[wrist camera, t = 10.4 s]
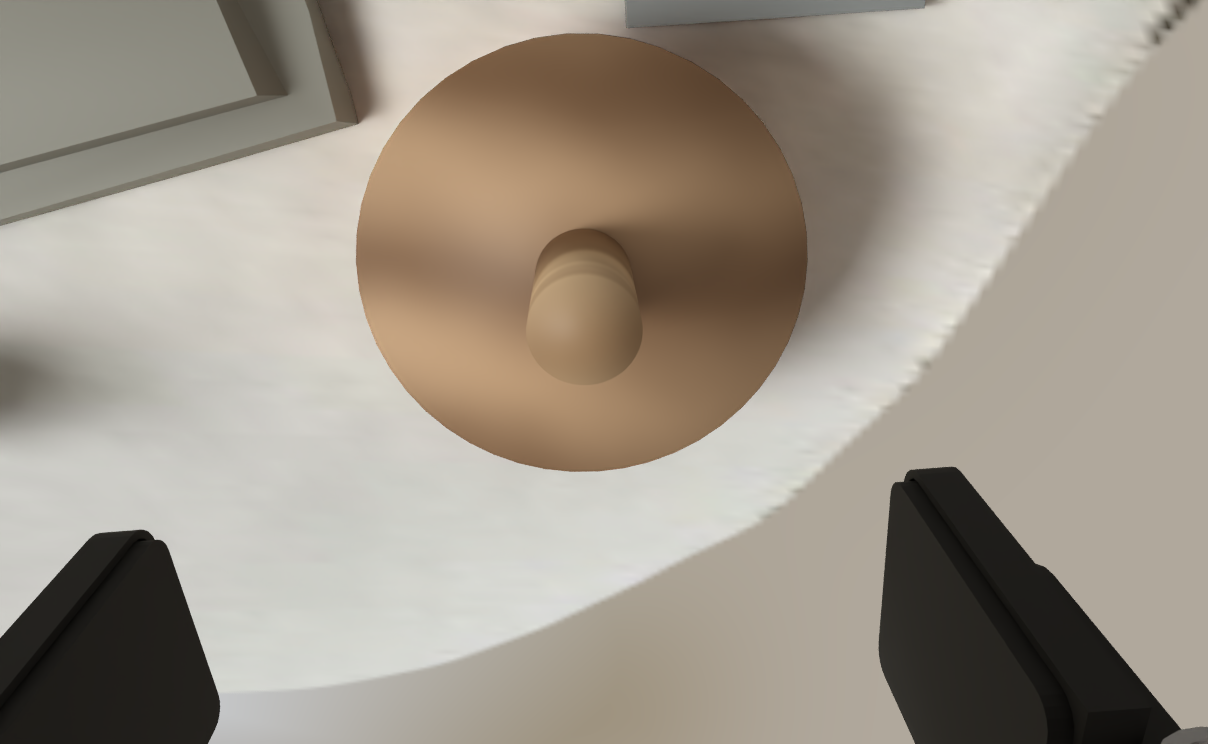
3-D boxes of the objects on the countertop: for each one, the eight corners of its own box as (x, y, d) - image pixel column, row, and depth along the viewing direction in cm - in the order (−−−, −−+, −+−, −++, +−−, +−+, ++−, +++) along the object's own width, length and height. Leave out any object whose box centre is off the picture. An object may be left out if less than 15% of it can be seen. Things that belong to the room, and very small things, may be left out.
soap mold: (-302, -25, 28) (-416, -30, 25) (257, -189, 27) (213, -217, 24) (-127, 263, 32) (-206, 290, 29) (368, 132, 31) (343, 145, 28)
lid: (327, 49, 25) (251, 60, 19) (805, 17, 25) (873, 19, 19) (401, 467, 30) (360, 574, 24) (792, 441, 30) (842, 541, 24)
